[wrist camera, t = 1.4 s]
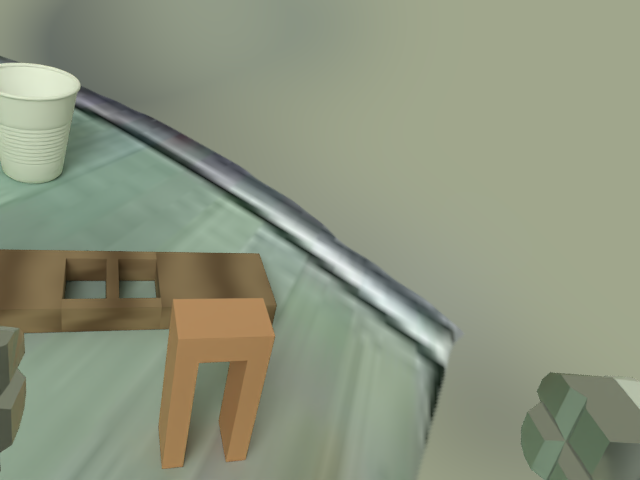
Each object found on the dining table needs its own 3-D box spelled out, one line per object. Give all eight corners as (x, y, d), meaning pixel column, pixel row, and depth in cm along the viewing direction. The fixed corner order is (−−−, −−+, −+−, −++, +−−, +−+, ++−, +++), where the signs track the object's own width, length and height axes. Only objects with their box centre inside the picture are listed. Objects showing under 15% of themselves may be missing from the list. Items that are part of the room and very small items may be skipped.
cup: (59, 147, 74) (58, 61, 68) (94, 185, 69) (96, 94, 63) (-29, 158, 68) (-39, 63, 62) (2, 200, 62) (-6, 101, 57)
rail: (-83, 336, 45) (-88, 311, 44) (-60, 272, 52) (-64, 248, 50) (271, 325, 55) (276, 305, 54) (255, 273, 61) (259, 253, 60)
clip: (162, 468, 41) (178, 339, 34) (158, 426, 43) (173, 299, 37) (245, 459, 43) (275, 335, 36) (236, 419, 45) (263, 298, 39)
